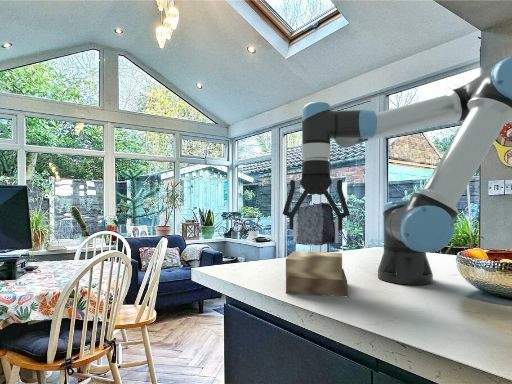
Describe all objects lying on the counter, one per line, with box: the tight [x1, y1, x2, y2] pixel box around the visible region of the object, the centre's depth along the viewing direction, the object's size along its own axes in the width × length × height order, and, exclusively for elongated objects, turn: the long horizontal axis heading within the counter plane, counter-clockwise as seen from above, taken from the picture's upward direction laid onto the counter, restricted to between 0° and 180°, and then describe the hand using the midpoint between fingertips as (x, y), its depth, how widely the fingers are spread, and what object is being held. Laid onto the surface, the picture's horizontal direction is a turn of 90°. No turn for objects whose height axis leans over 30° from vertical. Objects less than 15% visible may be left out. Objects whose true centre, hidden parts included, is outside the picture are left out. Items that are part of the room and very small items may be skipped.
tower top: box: [285, 250, 343, 280], centre depth 94 cm, size 14×14×4 cm
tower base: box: [285, 268, 348, 297], centre depth 93 cm, size 15×15×4 cm
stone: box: [297, 202, 336, 246], centre depth 94 cm, size 12×10×10 cm
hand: (315, 242), depth 94 cm, fingers closed on stone, 10 cm apart
